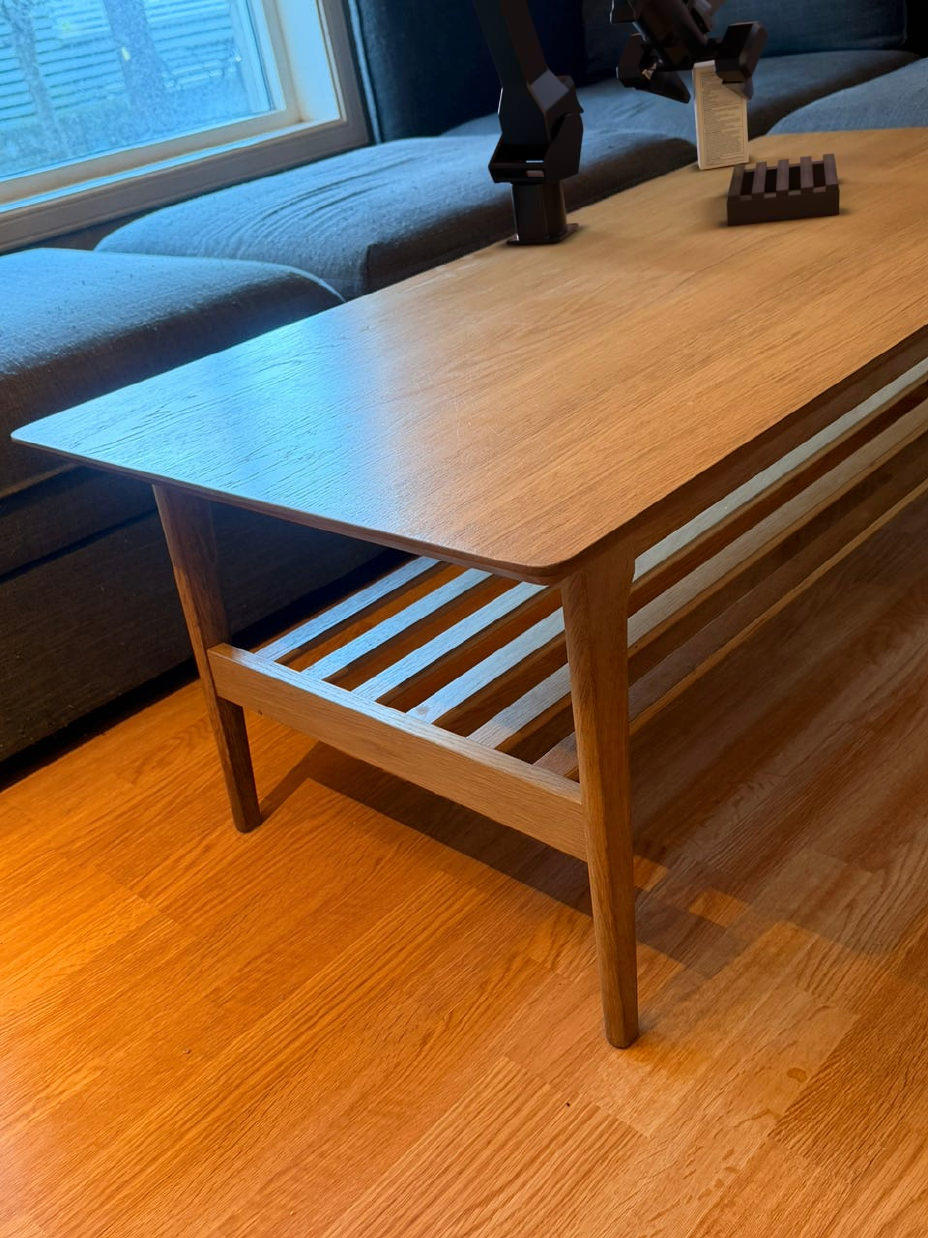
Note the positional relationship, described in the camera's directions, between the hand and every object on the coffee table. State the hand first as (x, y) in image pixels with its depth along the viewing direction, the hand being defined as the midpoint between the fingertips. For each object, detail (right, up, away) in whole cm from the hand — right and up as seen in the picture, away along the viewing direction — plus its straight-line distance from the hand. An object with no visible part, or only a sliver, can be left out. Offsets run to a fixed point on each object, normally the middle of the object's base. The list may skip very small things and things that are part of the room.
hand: (719, 98), depth 141 cm
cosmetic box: (+1, -7, +4) cm, 8 cm away
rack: (+2, -20, -19) cm, 28 cm away
